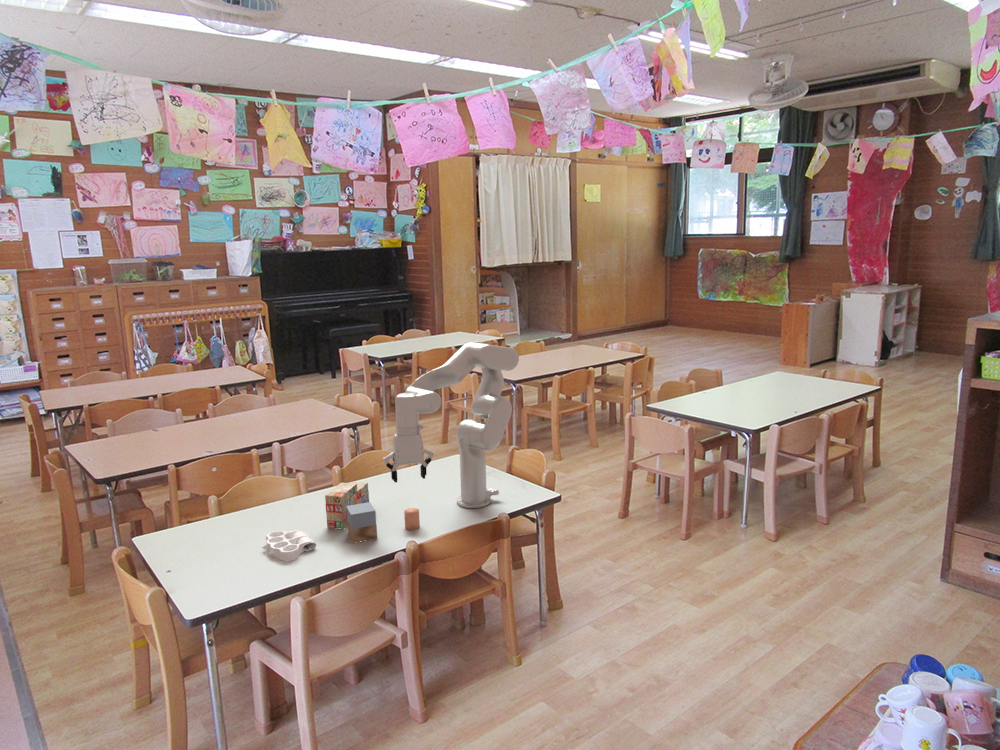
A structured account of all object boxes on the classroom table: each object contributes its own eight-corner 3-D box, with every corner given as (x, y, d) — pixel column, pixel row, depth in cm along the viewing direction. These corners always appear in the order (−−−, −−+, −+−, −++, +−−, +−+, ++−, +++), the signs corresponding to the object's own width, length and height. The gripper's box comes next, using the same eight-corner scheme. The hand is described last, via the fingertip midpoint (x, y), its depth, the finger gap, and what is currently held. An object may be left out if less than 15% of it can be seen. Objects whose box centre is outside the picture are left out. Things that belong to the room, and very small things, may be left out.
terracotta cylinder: (417, 523, 242) (416, 506, 241) (421, 528, 237) (420, 512, 236) (403, 525, 240) (402, 509, 239) (407, 531, 236) (406, 514, 234)
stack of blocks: (354, 504, 260) (352, 473, 257) (369, 506, 258) (367, 474, 256) (327, 528, 239) (324, 494, 237) (343, 530, 238) (341, 495, 235)
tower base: (371, 529, 238) (371, 516, 237) (377, 539, 230) (376, 524, 229) (348, 534, 234) (347, 520, 233) (353, 543, 227) (352, 529, 226)
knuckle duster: (320, 553, 222) (274, 566, 213) (299, 534, 236) (256, 545, 227) (319, 543, 221) (273, 556, 212) (299, 524, 235) (255, 536, 227)
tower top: (370, 516, 237) (369, 502, 236) (376, 524, 229) (375, 510, 228) (347, 520, 233) (346, 506, 232) (351, 529, 226) (351, 514, 225)
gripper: (429, 424, 238) (430, 472, 242) (379, 430, 232) (381, 479, 235) (436, 430, 232) (437, 479, 235) (384, 436, 225) (386, 486, 228)
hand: (409, 479), depth 235 cm, fingers open, 9 cm apart
